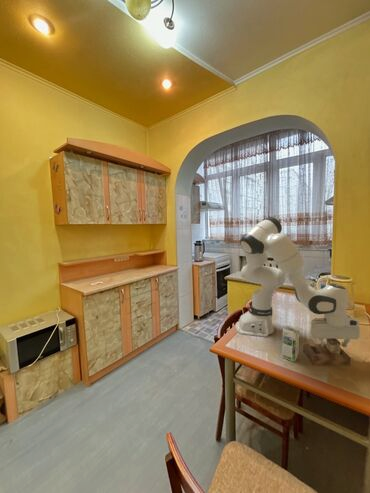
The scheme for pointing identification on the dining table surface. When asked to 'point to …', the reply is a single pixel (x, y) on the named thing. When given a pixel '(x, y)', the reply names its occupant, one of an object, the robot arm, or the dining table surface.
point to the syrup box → (290, 343)
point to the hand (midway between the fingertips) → (333, 346)
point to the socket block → (324, 355)
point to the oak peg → (333, 346)
